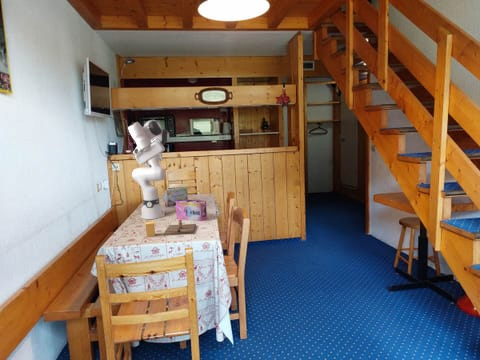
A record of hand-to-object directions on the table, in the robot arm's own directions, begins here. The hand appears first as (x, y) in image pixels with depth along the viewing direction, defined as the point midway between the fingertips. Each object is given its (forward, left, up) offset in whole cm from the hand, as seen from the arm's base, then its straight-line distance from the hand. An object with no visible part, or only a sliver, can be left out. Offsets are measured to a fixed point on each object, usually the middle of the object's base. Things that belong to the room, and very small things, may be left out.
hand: (156, 164), depth 207 cm
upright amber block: (+13, -4, -44) cm, 46 cm away
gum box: (-24, +17, -44) cm, 53 cm away
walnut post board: (+6, +13, -44) cm, 46 cm away
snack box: (-80, -3, -44) cm, 92 cm away
